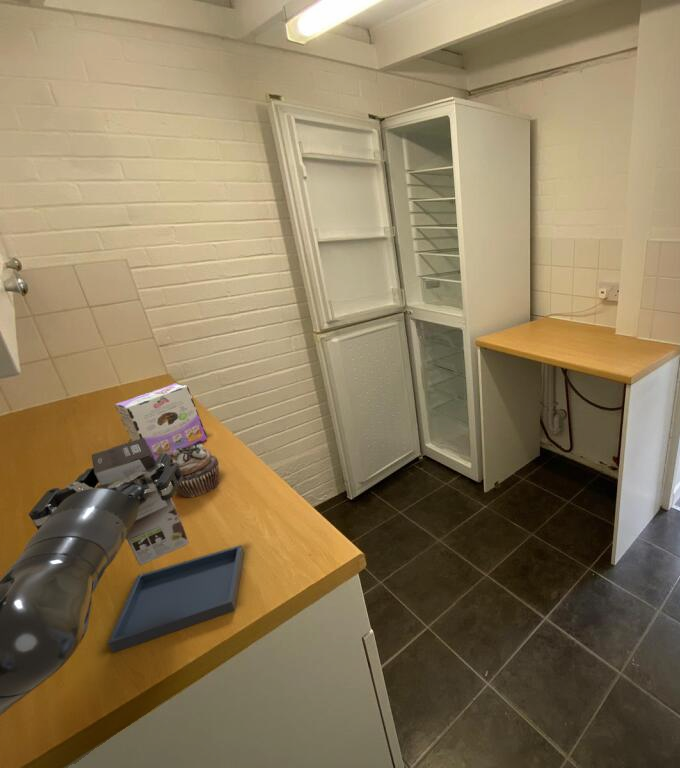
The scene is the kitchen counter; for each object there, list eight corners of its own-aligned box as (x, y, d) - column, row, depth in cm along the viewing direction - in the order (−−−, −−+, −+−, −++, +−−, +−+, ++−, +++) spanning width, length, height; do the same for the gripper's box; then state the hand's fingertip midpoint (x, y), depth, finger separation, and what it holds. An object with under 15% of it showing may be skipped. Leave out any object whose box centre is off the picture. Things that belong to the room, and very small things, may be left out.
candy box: (196, 435, 118) (175, 382, 111) (208, 439, 115) (189, 385, 109) (139, 461, 106) (113, 403, 100) (152, 466, 104) (126, 407, 97)
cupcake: (169, 489, 95) (152, 451, 91) (217, 469, 102) (204, 434, 98) (180, 506, 89) (163, 467, 85) (230, 484, 96) (217, 447, 92)
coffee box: (191, 543, 65) (152, 454, 60) (138, 567, 61) (92, 473, 56) (181, 519, 72) (145, 436, 66) (132, 539, 67) (90, 452, 62)
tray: (113, 652, 60) (107, 643, 59) (142, 584, 71) (137, 575, 70) (235, 610, 66) (231, 601, 65) (244, 553, 77) (241, 544, 76)
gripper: (146, 492, 49) (180, 432, 63) (-20, 531, 44) (56, 456, 58) (169, 541, 52) (196, 473, 66) (15, 583, 47) (79, 500, 61)
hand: (131, 465), depth 62 cm, fingers closed on coffee box, 8 cm apart
